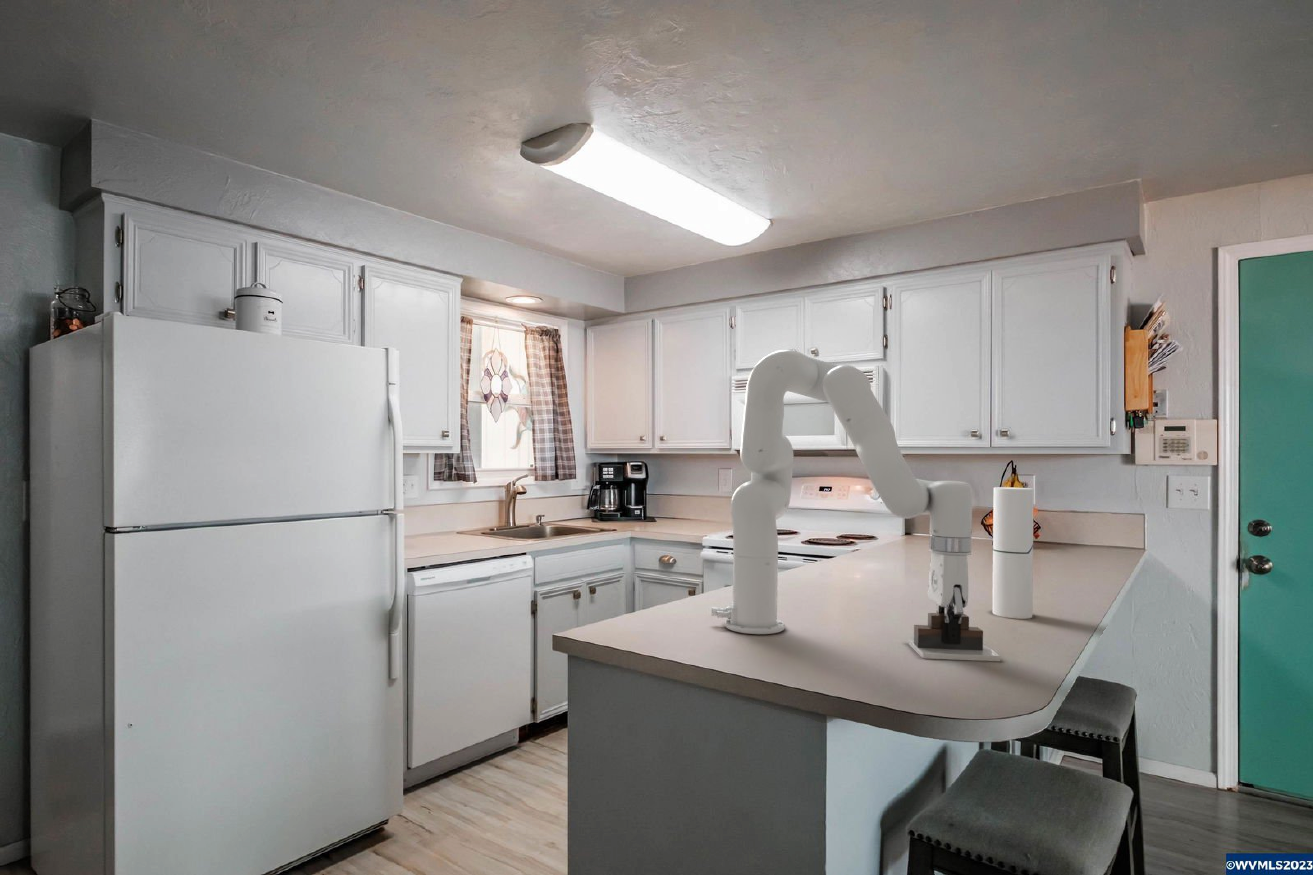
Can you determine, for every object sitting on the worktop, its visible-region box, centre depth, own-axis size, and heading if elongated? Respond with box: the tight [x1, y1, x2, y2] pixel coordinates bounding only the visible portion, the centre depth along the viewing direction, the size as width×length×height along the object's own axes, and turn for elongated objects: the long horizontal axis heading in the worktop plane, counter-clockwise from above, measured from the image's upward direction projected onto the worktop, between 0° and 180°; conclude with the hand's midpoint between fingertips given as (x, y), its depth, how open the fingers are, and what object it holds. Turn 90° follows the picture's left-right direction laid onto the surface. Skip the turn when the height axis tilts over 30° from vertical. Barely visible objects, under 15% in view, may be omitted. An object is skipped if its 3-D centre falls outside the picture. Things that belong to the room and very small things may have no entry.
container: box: [991, 486, 1035, 620], centre depth 176 cm, size 9×9×30 cm
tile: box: [908, 638, 1002, 662], centre depth 142 cm, size 14×10×1 cm
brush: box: [913, 612, 984, 650], centre depth 142 cm, size 12×3×6 cm, turn 85°
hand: (948, 640), depth 142 cm, fingers closed on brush, 3 cm apart
